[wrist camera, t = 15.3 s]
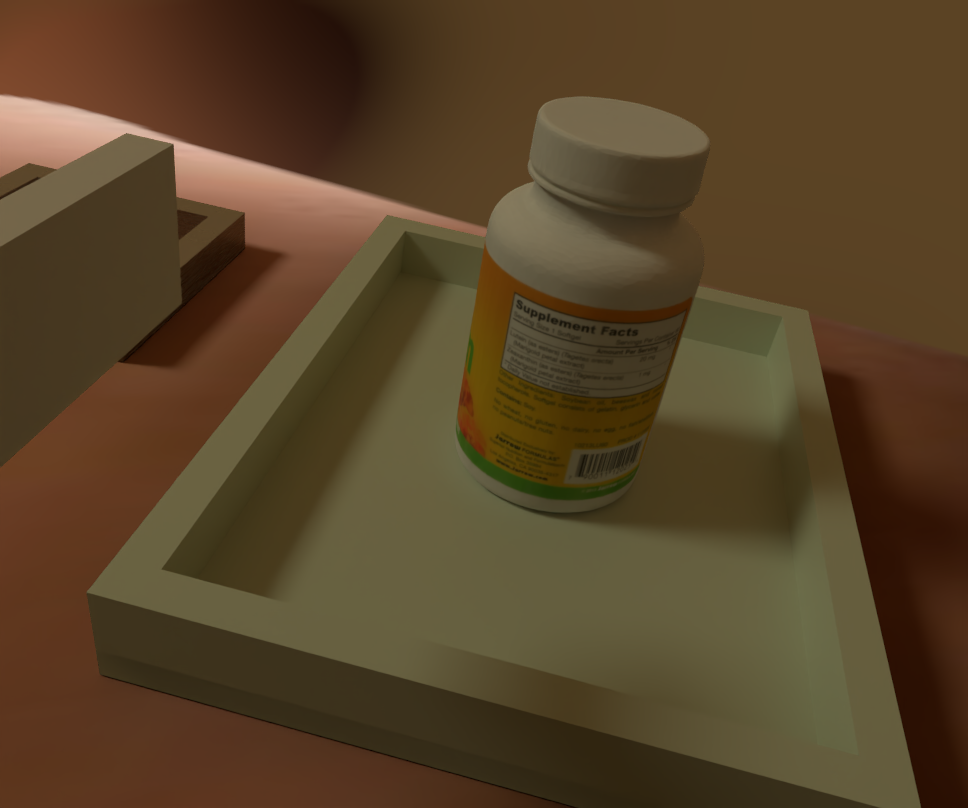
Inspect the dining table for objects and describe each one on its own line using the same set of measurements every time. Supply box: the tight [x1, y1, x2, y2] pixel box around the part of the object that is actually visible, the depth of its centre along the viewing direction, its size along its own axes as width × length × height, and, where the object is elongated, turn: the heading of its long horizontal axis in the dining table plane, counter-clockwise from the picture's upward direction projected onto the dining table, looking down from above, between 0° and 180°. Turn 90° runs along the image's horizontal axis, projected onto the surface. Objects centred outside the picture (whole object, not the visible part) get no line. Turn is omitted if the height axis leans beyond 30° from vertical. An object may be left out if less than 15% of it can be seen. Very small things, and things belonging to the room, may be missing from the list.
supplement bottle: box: [455, 97, 710, 513], centre depth 23 cm, size 5×5×10 cm
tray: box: [87, 215, 921, 808], centre depth 25 cm, size 16×20×2 cm
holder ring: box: [0, 163, 245, 362], centre depth 31 cm, size 9×9×2 cm
